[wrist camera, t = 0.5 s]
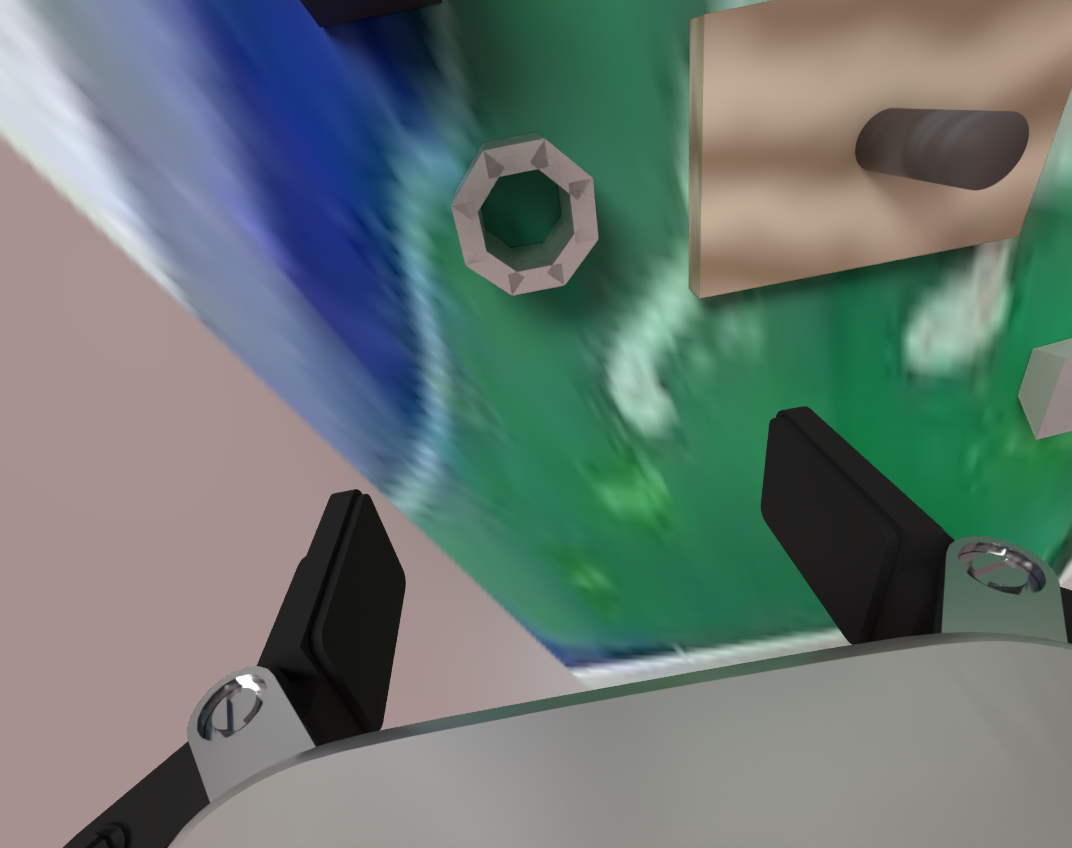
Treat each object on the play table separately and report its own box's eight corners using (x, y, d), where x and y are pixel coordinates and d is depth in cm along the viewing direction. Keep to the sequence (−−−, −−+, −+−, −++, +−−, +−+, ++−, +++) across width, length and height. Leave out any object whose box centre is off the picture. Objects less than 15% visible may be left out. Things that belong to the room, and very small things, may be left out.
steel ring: (446, 149, 27) (439, 159, 23) (571, 124, 27) (588, 129, 23) (475, 275, 31) (474, 303, 27) (586, 253, 31) (602, 277, 27)
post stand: (689, 19, 25) (778, -13, 18) (1085, -61, 25) (1344, -128, 18) (688, 288, 33) (750, 344, 26) (990, 229, 33) (1142, 268, 25)
